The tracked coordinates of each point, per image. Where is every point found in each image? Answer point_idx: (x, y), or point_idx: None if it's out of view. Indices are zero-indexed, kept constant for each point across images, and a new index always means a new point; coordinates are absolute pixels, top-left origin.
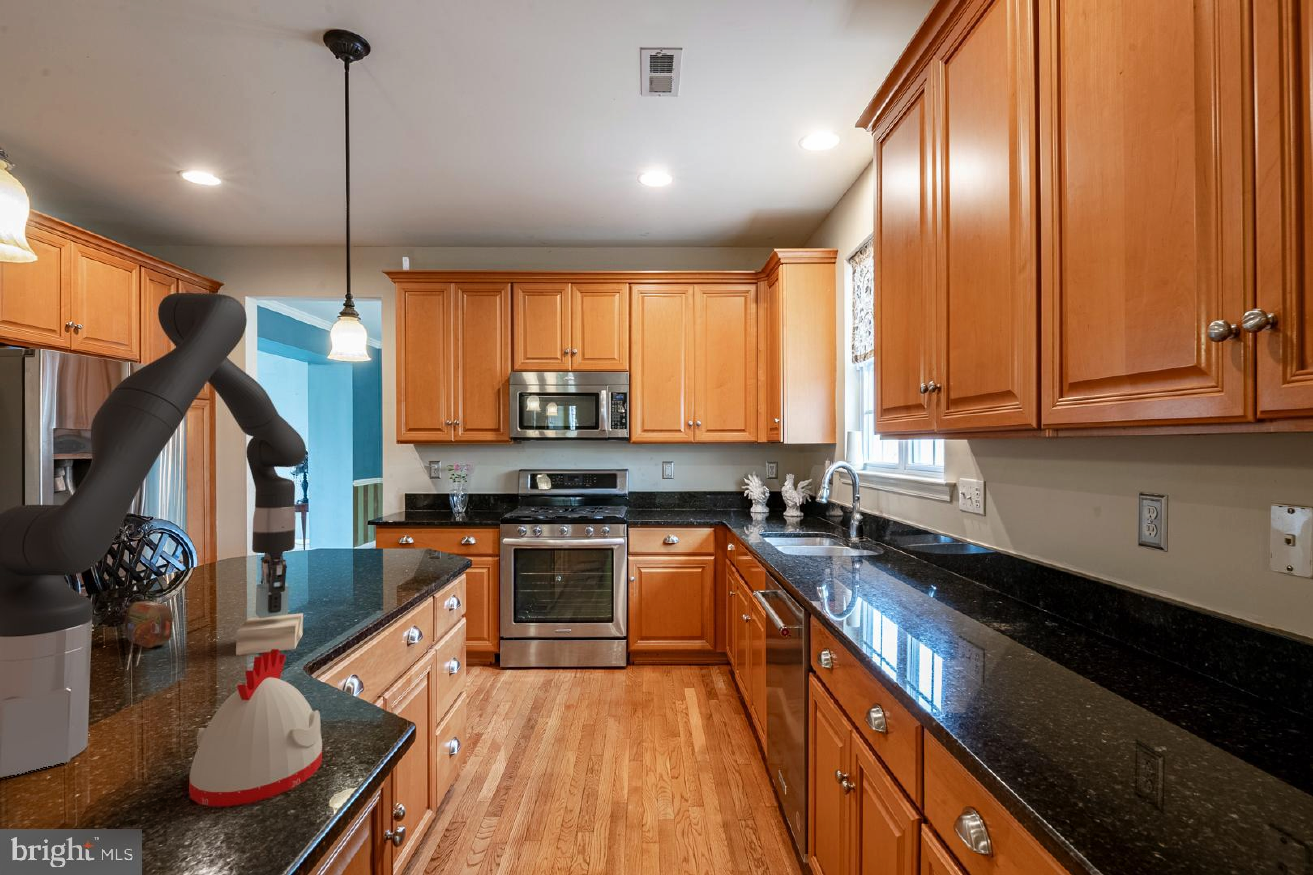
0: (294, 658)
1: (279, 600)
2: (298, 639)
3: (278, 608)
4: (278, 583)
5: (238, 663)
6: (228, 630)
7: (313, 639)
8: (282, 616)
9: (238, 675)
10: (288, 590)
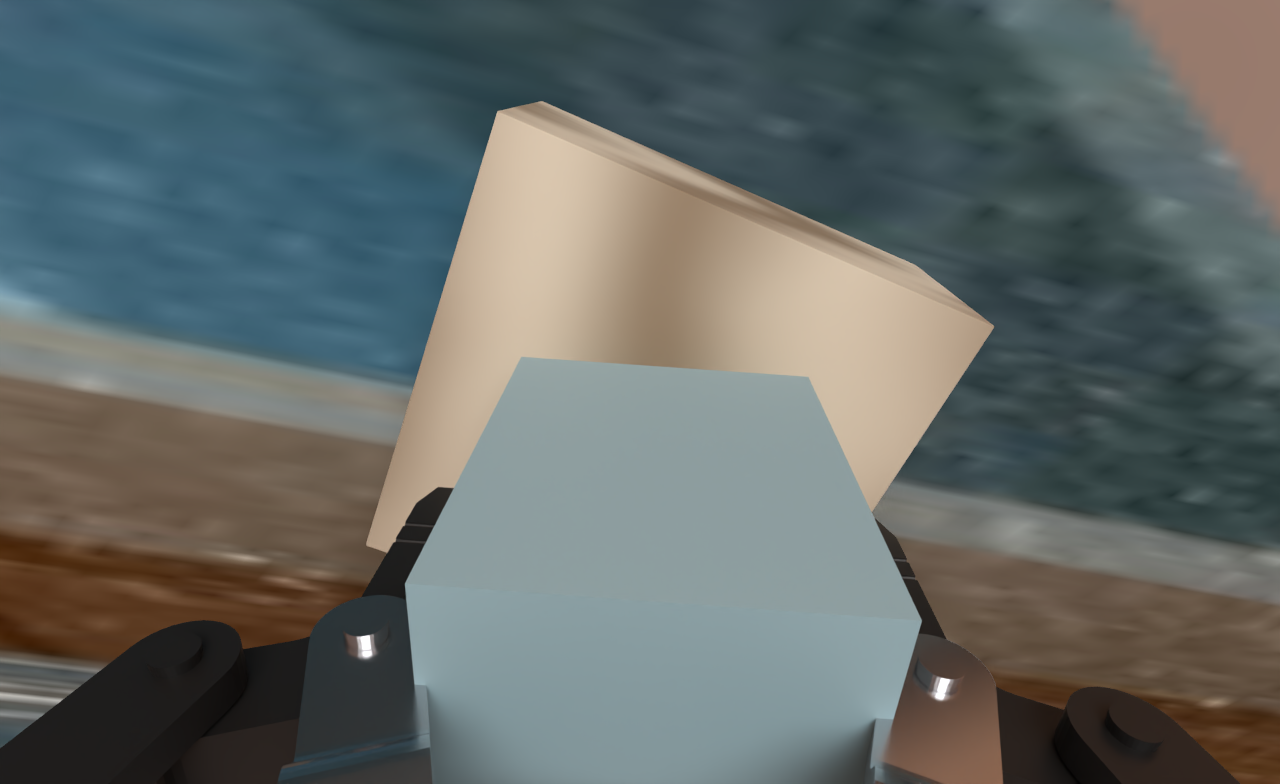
0: (1145, 326)
1: (925, 600)
2: (755, 197)
3: (887, 538)
4: (569, 696)
5: (926, 580)
6: (90, 490)
7: (771, 67)
8: (507, 325)
9: (1147, 617)
10: (890, 560)
